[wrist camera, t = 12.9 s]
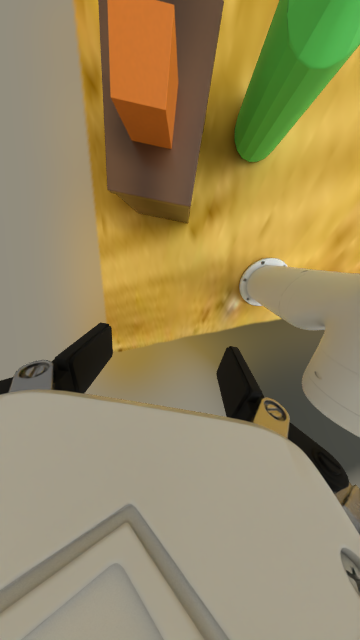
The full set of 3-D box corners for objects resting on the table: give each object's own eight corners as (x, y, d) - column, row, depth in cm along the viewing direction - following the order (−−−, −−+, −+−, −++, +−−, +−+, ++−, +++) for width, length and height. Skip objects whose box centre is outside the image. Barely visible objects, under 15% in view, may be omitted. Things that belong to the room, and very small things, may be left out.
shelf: (206, 119, 25) (224, -1, 13) (189, 224, 32) (190, 206, 20) (139, 104, 25) (96, -34, 13) (136, 213, 32) (107, 189, 20)
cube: (178, 82, 16) (174, 4, 11) (171, 149, 18) (165, 110, 13) (132, 71, 15) (106, -14, 11) (131, 140, 18) (110, 97, 13)
